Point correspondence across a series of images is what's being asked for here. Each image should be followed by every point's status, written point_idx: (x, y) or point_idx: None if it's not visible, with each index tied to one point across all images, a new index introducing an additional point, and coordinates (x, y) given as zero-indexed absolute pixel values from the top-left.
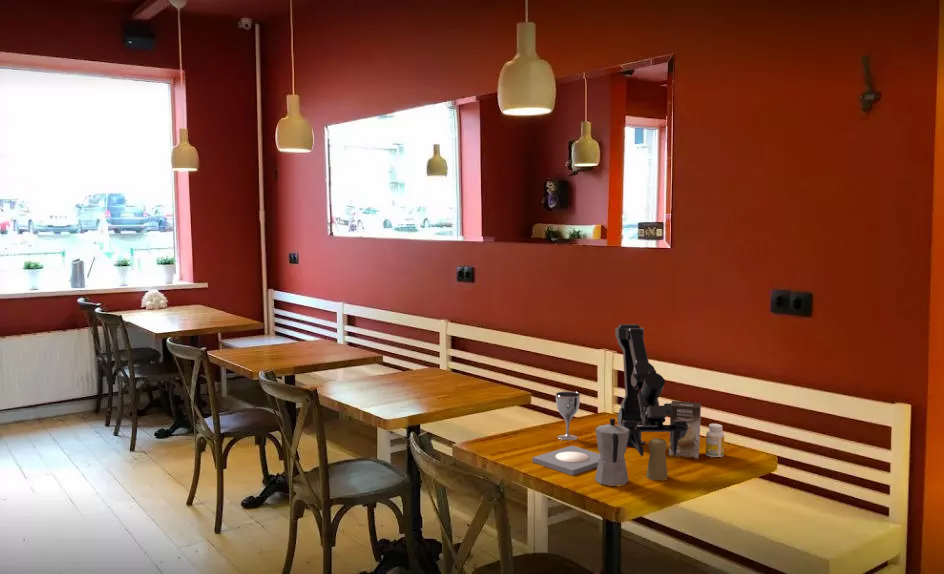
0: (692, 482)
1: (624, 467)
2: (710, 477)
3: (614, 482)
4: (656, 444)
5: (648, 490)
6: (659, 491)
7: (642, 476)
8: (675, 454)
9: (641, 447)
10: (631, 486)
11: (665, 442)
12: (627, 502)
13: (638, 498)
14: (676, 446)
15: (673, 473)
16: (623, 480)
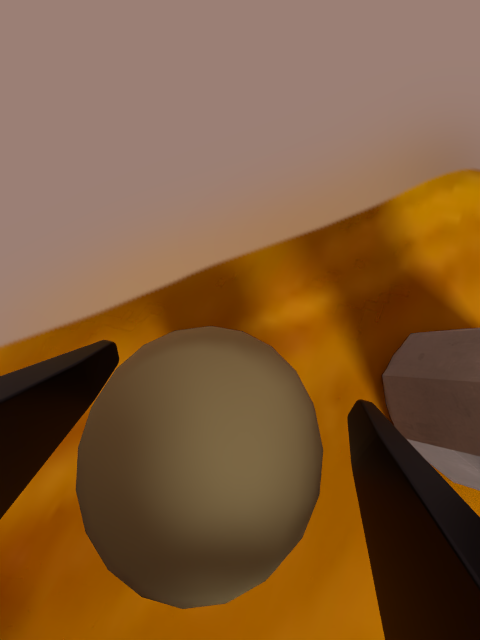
0: (132, 305)
1: (474, 349)
2: (33, 339)
3: (473, 328)
4: (265, 349)
5: (331, 268)
6: (295, 252)
7: None
8: (108, 341)
9: (404, 457)
10: (382, 320)
11: (121, 368)
12: (439, 190)
13: (392, 212)
14: (29, 368)
15: None
16: (431, 332)
